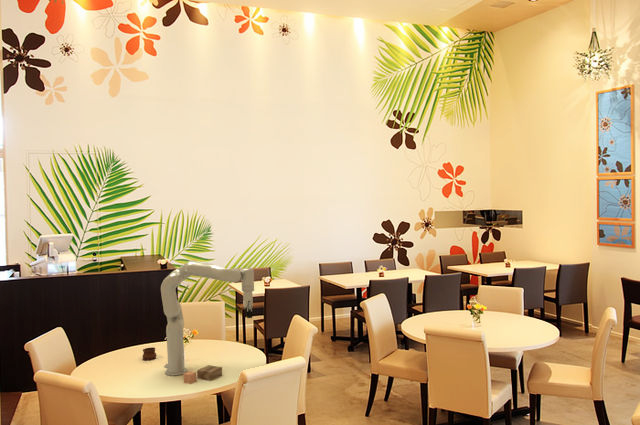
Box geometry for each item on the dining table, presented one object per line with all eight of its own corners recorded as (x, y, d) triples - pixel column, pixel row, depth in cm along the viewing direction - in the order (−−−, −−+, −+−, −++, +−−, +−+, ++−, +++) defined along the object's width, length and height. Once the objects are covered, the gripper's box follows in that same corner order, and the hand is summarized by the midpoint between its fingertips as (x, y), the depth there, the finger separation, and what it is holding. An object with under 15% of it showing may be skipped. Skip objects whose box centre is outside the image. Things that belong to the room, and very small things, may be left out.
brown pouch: (153, 363, 331) (153, 352, 331) (129, 362, 335) (129, 351, 335) (169, 356, 348) (168, 345, 348) (145, 355, 353) (145, 344, 353)
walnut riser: (197, 378, 300) (197, 370, 300) (208, 373, 309) (208, 365, 309) (211, 381, 295) (210, 372, 295) (222, 375, 304) (221, 367, 304)
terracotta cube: (183, 382, 294) (183, 373, 294) (189, 379, 298) (189, 371, 298) (190, 383, 291) (190, 374, 291) (196, 381, 296) (196, 372, 296)
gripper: (240, 286, 326) (241, 314, 327) (243, 291, 310) (244, 319, 310) (252, 285, 328) (253, 313, 329) (255, 290, 311) (256, 318, 312)
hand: (248, 316), depth 319 cm, fingers open, 9 cm apart
